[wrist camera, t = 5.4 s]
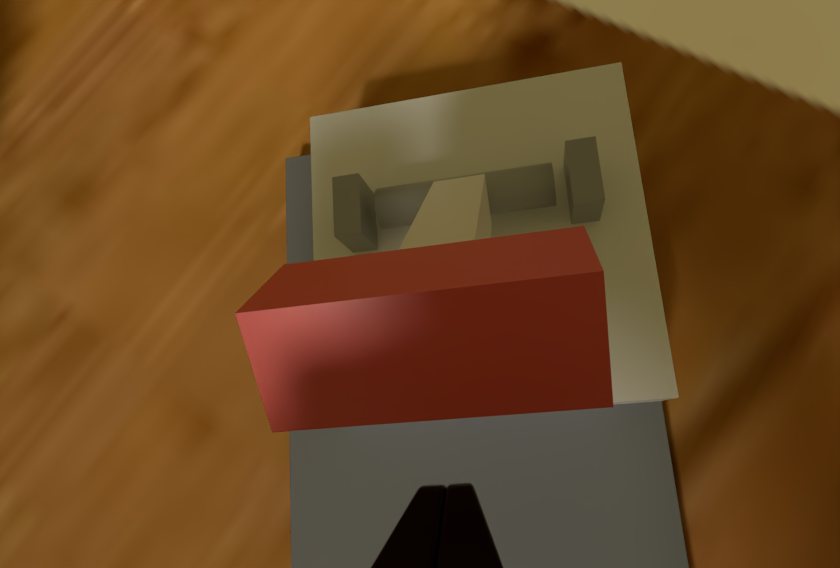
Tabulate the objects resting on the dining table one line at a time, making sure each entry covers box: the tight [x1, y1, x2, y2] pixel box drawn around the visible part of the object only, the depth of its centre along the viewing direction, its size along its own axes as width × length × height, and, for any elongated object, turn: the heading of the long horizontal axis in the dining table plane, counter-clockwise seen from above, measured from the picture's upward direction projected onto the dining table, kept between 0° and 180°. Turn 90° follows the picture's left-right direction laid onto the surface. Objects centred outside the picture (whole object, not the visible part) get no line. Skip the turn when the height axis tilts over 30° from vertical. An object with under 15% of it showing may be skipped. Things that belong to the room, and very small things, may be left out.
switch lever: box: [235, 162, 614, 432], centre depth 13 cm, size 2×5×10 cm
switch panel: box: [286, 62, 689, 568], centre depth 18 cm, size 16×12×5 cm
